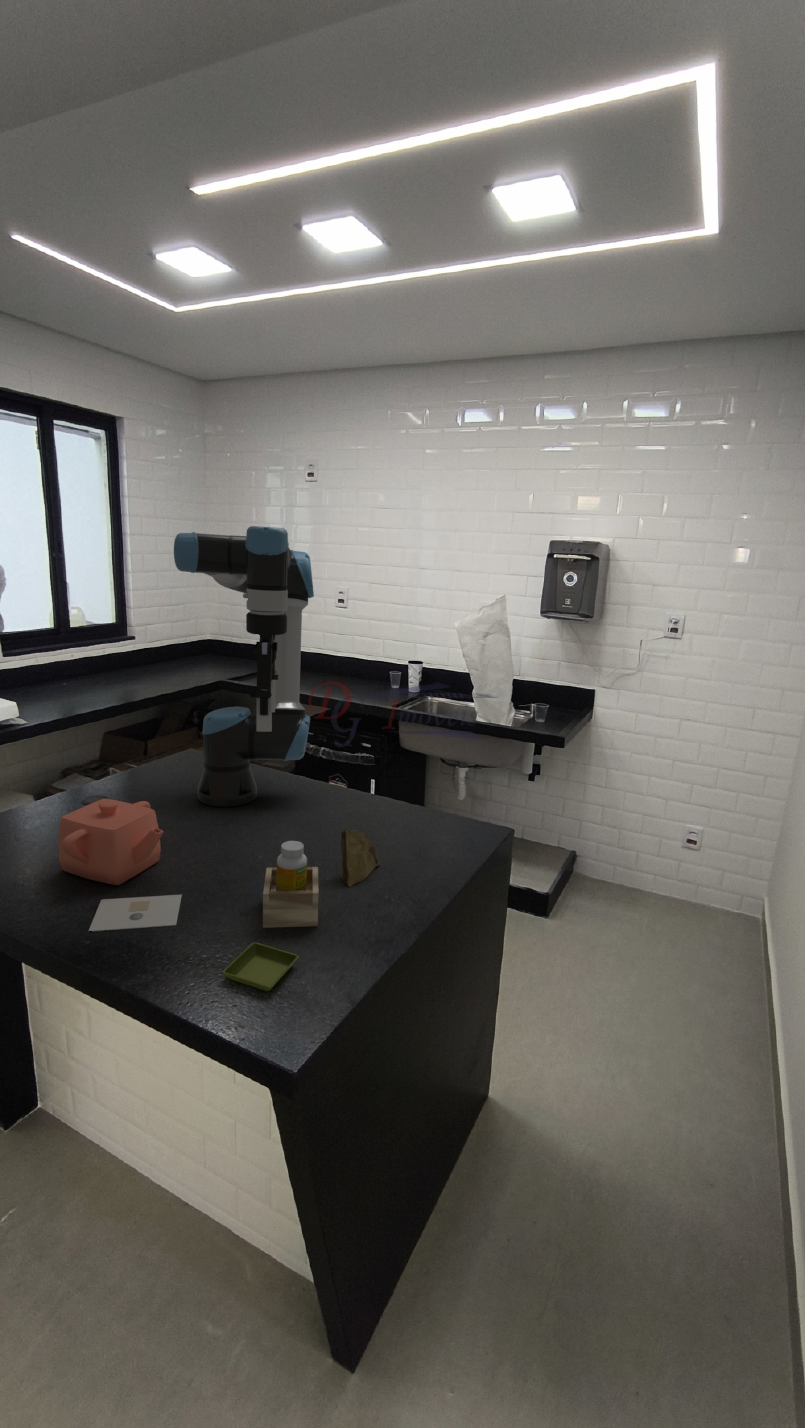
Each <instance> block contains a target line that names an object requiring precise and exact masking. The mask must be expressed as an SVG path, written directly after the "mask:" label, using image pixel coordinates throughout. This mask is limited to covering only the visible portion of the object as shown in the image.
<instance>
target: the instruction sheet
mask: <svg viewBox="0 0 805 1428" xmlns="http://www.w3.org/2000/svg"><path fill="white" fill-rule="evenodd" d="M182 897H183V894H169V895H153V896H137V897H122V898H104V899H101V900H100V903H99V904H98V907H97V909H96V912H95V915H94V917H93V919H92V921H91V924H90V927H89V929H88V932H89V931H92V932H103V931H104V932H105V930H106V931H116V930H131V929H133V930H134V929H143V928H145V929H146V928H157V927H158V928H159V927H171V926H175V927H176V926H177V924H178V923H177V922H178V918H179V912H180V907H181V901H182Z"/></svg>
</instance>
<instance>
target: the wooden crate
mask: <svg viewBox="0 0 805 1428" xmlns="http://www.w3.org/2000/svg"><path fill="white" fill-rule="evenodd" d="M276 876H277V866H276V867H266V869H265V876H264V884H263V891H262V928H265V929H266V928H267V929H268V928H297V927H318V926H319V925H318V924H319V923H318V922H319V891H320V890H319V867H318V866H307V880H306V891H276Z"/></svg>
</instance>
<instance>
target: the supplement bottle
mask: <svg viewBox="0 0 805 1428" xmlns="http://www.w3.org/2000/svg"><path fill="white" fill-rule="evenodd" d="M280 845H281V846H280V854H279V855H278V856H277V859H276V867H277V876H276V891H306V880H307V867H308V858H307V856H306V855H305V853H304V851H305V847H304V845H305V844H304V843H302V842H301V841H299V840H297V841H296V840H287V841H285V842H283V843H282V844H280Z"/></svg>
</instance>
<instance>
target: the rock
mask: <svg viewBox="0 0 805 1428" xmlns="http://www.w3.org/2000/svg"><path fill="white" fill-rule="evenodd" d="M340 835H341V836H340V851H341V864H340V877H341V880H342V882H343V883H344V885H346V886H348V887H349V888H351V887H352V886H354V885H355V884H357V883H361V882H362V881H364V880H365V879H366V878H368V877H369V875H370V874H371V873H373V871H374V869H375V868H376V867H378V866H379V865H380V859H379V857H378V854H377V850H376V849H375V847H374V846H373V845H372V843H371V841H370V840H369V838H368V837H369V836H368V835H367V834H366V833H363V832H360V831H358V830H356V829H350V830H343V831H341V834H340Z"/></svg>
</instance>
